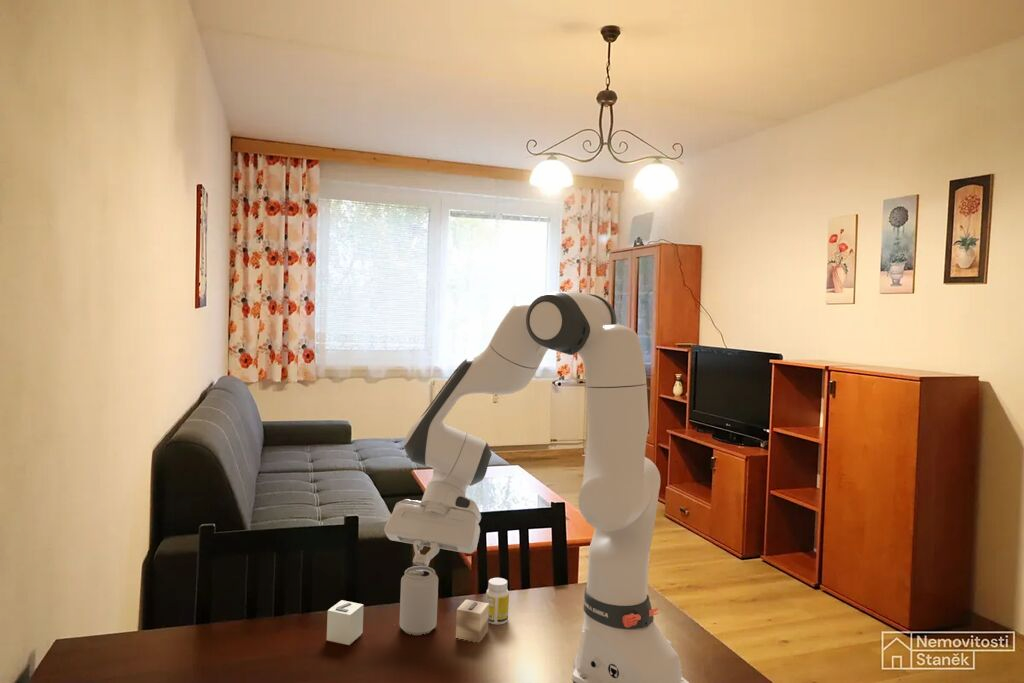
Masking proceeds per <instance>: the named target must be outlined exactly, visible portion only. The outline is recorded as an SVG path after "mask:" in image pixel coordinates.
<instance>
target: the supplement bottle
mask: <svg viewBox="0 0 1024 683" xmlns="http://www.w3.org/2000/svg"><path fill="white" fill-rule="evenodd" d="M509 592H510V591H509V590H508V580H507V579H505V578H502V577H493V578H490V579H489V580H488V586H487V589H486V592H485V593H486V594H485V597H486V598H485V603H489V615H488V624H490V623H491V625H494V626H495V625H496V626H497V625H504V624H506V623H507V622H508V620H509V601H510V600H509V599H510V598H509V595H510V593H509Z"/></svg>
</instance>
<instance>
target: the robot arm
mask: <svg viewBox="0 0 1024 683" xmlns="http://www.w3.org/2000/svg"><path fill="white" fill-rule="evenodd" d="M549 350H551V351H555V352H559V353H563V354H565V355H569V356H574V355H575V354H578V355H579V356H580V358H581V359H582V361H583V362H582V363H583V364H584V370H585V386H586V387H585V389H586V390H585V392H586V408H587V410H586V411H587V437H586V438H587V440H586V446H585V448H586V449H585V455H584V462H583V463H584V465H583V477H582V483H581V487H580V490H579V493H578V509H579V511H580V514H581V516H582V518H584V521H586V522H587V523H588V525H590V526H591V527H592V528H594V530H593V531H594V532H593V535H592V538H591V541H590V545H589V547H588V559H587V560H588V562H587V583H586V588H584V592H583V593H584V594H583V611H584V618H583V619H584V620H583V623H582V628H581V632H580V639H579V645H578V650H577V653H576V656H575V658H574V659H575V660H574V661H573V662H574V664H573V665H574V669H573V672H572V679H571V680H572V681H573V682H574V683H690V682H689V681H688V680H687V679H685V677H683V675H682V667H681V660H680V657H679V654H678V653H677V651H676V650H675V649H674V646H673V643H672V642H671V641H670V640H668V639H667V638H666V637H665V635H664V633H663V632H662V631H661V629H660V628H659V626H658V625H657V624H656V623H655V621H654V619H655V617H654V616H656V615H658V614H659V612H657V611H658V610H659V607H655V608H652V604H651V599H650V596H649V594H648V587H649V586H648V585H649V584H648V582H649V567H650V555H651V549H652V548H651V546H652V542H653V536H654V530H655V523H656V519H657V518H656V515H657V510H658V501H659V495H660V494H659V493H660V489H661V474H660V471H659V469H658V467H657V465H656V464H655V463H654V462H653V461H652V460H651V459H650V458H648V457H646V449H647V439H648V432H649V430H650V422H649V421H650V419H649V418H650V417H649V404H648V387H647V386H648V384H647V383H648V382H647V373H646V372H647V371H646V365H645V359H644V354H643V350H642V345H641V341H640V338H639V335H638V334H637V333H636V331H635V330H634V329H632V328H631V327H628V326H626V325H622V324H617V315H616V312H615V309H614V308H613V306H612V304H611V303H610V302H609V301H607V300H606V299H605V298H603V297H601V296H599V295H596V294H593V293H592V294H587V293H582V292H580V291H570V290H569V291H549V292H546V293H544V294H541V295H540V296H538V297H537V298H536V299H534V300H533V301H519V302H517V303H515V304H514V305H513V306H512V307H511V308H510V310H508V311H507V313H506V315H505V316H504V317H503V319H502V321H501V322H500V323H499V325H498V326H497V328H496V330H495V331H494V334H493V336H492V338H491V339H490V341H489V343H488V346H486V348H485V349H484V351H483V352H481V353H480V354H479V355H477V356H475V357H471V358H469V357H468V358H466V359H464V360H463V361H462V362H461V363H460V364H459V365H457V367H456V369H455V370H454V371H453V373H452V374H451V375H450V377H448V379H447V380H446V382H445V383H444V384H443V386H442V387H441V389H440V391H439V392H438V393H437V394H436V396H435V398H434V399H433V400H432V401H431V403H430V404H429V405H428V407H427V408H426V409H425V411H424V412H423V414H422V415H421V416H420V417H419V418H418V419H417V420H416V421H415V422H414V423H413V424H412V426H411V427H410V429H409V430H408V432H407V434H406V437H405V441H404V445H403V447H404V451H405V453H406V454H407V456H408V459H409V460H410V462H413V463H415V464H419V465H422V466H424V467H426V466H427V467H429V468H432V469H433V470H432V471H433V472H432V477H431V479H430V480H429V482H428V483H427V485H426V488H425V490H424V493H423V496H422V498H421V500H412V499H409V498H404V499H403V500H400V501H398V502H396V503H395V505H394V507H393V509H392V510H393V511H392V512H391V514H390V516H389V517H388V520H387V521H386V524H385V525H384V529H383V530H384V533H385V536H386V537H387V538H388V539H389V541H393V542H394V541H395V542H400V543H405V544H411V545H412V546H413V551H414V556H413V559H412V563H413V565H414V566H425V567H429V566H430V562H431V560H432V559H433V558H434V557H435V556H437V555H438V554H439V552H440V549H441V550H447V551H452V552H458V553H464V554H470V555H471V554H473V553H474V552H475V551H476V550H477V547H478V543H479V539H480V533H481V527H480V525H479V523H480V522H481V521H482V520H481V519H482V514H481V511H480V509H479V506H478V505H477V504H476V502H475V501H474V500H472V499H470V498H468V497H466V496H467V494H466V493H467V489H468V487H471V486H474V485H476V484H478V483H480V482H481V481H483V480H484V479H485V477H486V473H487V471H488V468H489V463H490V460H491V458H492V451H491V448H490V445H489V444H488V443H487V441H486V440H483V439H482V438H480V437H478V436H475V435H474V434H471V433H468V432H465V431H463V430H460V429H458V428H455V427H453V426H452V425H451V426H450V425H448V424H446V423H445V422H444V419H446V417H447V416H448V414H449V413H450V411H451V410H452V409H453V408H454V406H455V405H456V403H457V402H458V400H460V399H461V398H462V397H464V396H466V395H472V394H473V395H474V394H489V395H496V396H497V395H498V396H499V395H500V396H502V395H511V394H514V393H517V392H520V391H522V390H523V389H525V388H526V387H527V386H528V385H529V384H530V382H531V381H532V379H533V377H534V376H535V375H536V373H537V371H538V369H539V367H540V365H541V364H542V361H543V359H544V357H545V355H546V353H547V351H549ZM424 547H429V548H430V549H429V551H428V552H426V553H425V554H422V553H421V551H422V550H423V548H424Z"/></svg>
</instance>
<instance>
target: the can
mask: <svg viewBox="0 0 1024 683" xmlns="http://www.w3.org/2000/svg"><path fill="white" fill-rule="evenodd" d="M438 590H439V577H438V575H437V574H436V571H435V569H434V568H432V567H429V566H428V567H425V566H420V565H414V566H410V567H408V568H407V569H405V570H404V575H402V577H401V579H400V599H399V602H400V603H399V604H400V606H399V624H398V625H399V627H400V628H401V630H402V631H403V632H405V633H406V634H408V635H411V634H412V636H421V635H422V634H424V635H427V634H429V633H431V631H433V629H435V628H436V627H437V624H438V623H437V622H438V621H437V619H438V594H439V593H438ZM426 633H427V634H426ZM422 636H423V635H422Z"/></svg>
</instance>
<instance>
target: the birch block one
mask: <svg viewBox="0 0 1024 683" xmlns="http://www.w3.org/2000/svg"><path fill="white" fill-rule="evenodd" d="M488 615H489V603H486V602H482V601H477V600H472V599H467V598H466V599H465V600H464V601H463V602H462V603H461V604H460V605H459V607H457V608H456V620H455V621H456V622H455V623H456V624H455V639H456V638H459V639H458V640H460V639H464V640H463V641H465V639H466V640H469V641H468V642H470V641H474V642H473V643H475V642H478V643H477V644H480V643H481V642H482V640H483V639H484V638H485V636H486V635H487V634H488V632H489V623H488ZM486 633H487V634H486ZM485 634H486V635H485ZM483 637H484V638H483ZM480 641H481V642H480ZM479 642H480V643H479Z"/></svg>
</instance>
